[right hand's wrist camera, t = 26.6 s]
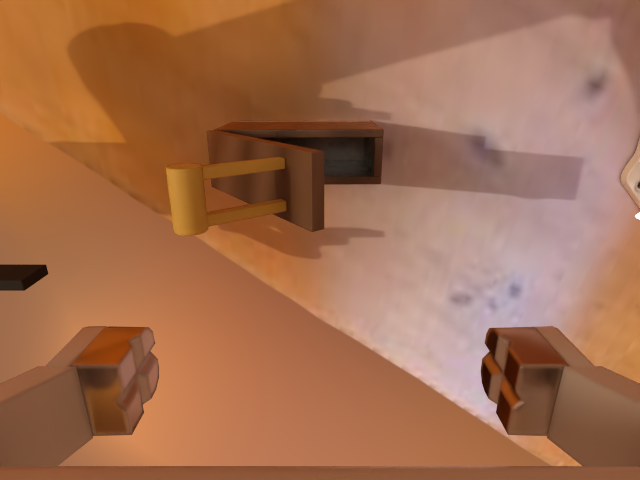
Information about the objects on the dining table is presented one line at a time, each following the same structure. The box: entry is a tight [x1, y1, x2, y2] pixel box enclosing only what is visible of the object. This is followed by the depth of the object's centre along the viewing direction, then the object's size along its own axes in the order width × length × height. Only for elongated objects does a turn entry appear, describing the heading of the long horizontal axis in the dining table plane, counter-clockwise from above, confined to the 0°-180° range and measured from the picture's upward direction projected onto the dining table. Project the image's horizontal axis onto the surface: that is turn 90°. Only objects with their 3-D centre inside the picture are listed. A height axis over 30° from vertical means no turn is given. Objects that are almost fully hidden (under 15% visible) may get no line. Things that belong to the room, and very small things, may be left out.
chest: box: [215, 120, 383, 184], centre depth 42 cm, size 15×5×10 cm, turn 90°
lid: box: [166, 130, 324, 236], centre depth 29 cm, size 16×5×8 cm
